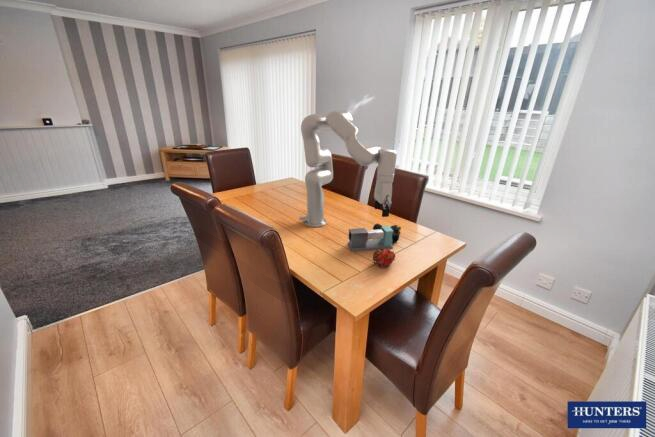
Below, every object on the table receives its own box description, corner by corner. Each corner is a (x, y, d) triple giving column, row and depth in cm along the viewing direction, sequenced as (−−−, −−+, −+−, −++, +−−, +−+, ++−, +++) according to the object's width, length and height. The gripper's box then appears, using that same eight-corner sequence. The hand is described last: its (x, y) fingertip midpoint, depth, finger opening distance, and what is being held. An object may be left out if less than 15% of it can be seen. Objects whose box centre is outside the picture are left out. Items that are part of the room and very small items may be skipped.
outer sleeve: (351, 248, 132) (351, 233, 129) (348, 243, 137) (349, 229, 134) (366, 247, 134) (368, 232, 131) (363, 242, 138) (364, 227, 135)
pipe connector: (389, 219, 155) (408, 230, 143) (388, 228, 157) (407, 239, 145) (373, 224, 150) (392, 235, 138) (372, 232, 152) (391, 244, 140)
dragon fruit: (369, 269, 121) (390, 267, 126) (380, 267, 114) (403, 265, 119) (366, 250, 123) (388, 248, 128) (377, 247, 116) (399, 245, 121)
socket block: (384, 246, 135) (386, 231, 132) (380, 240, 141) (381, 226, 137) (391, 245, 136) (393, 231, 132) (386, 239, 141) (388, 225, 138)
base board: (351, 252, 132) (351, 249, 131) (347, 244, 139) (347, 241, 138) (392, 248, 135) (392, 246, 135) (386, 240, 143) (386, 238, 142)
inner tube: (360, 240, 133) (361, 233, 131) (358, 236, 136) (359, 230, 134) (390, 237, 135) (390, 231, 134) (387, 234, 138) (388, 228, 137)
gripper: (370, 173, 131) (367, 206, 138) (384, 183, 115) (380, 220, 122) (385, 172, 132) (382, 205, 139) (401, 182, 117) (396, 219, 124)
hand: (381, 212), depth 131 cm, fingers open, 9 cm apart
